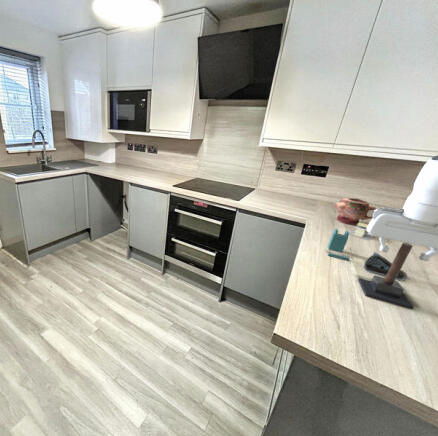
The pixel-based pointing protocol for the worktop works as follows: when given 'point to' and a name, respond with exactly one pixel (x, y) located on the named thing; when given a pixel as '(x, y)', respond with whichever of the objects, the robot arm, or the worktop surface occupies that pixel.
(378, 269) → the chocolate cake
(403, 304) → the mat
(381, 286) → the mallet
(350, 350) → the worktop surface
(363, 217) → the pink floral mug
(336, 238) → the rest
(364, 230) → the stacked layers on plate
